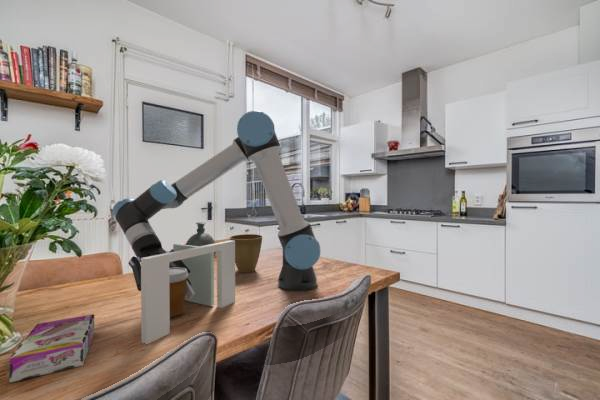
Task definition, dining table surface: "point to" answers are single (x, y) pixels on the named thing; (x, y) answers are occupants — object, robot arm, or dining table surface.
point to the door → (200, 275)
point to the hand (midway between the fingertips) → (178, 301)
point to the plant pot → (247, 251)
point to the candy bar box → (52, 348)
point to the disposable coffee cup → (177, 289)
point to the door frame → (157, 285)
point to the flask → (200, 237)
